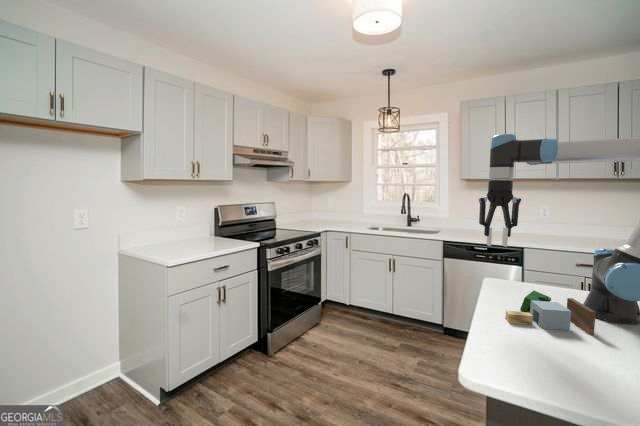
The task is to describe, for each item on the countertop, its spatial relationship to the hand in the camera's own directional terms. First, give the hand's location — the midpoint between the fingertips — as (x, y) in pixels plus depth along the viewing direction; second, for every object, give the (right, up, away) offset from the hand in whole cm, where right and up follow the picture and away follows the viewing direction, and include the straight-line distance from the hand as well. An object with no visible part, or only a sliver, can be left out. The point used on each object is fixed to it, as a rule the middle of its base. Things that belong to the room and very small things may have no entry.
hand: (496, 245), depth 119 cm
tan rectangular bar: (+2, -24, -10) cm, 26 cm away
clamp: (+13, -23, -1) cm, 27 cm away
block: (+11, -24, -12) cm, 29 cm away
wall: (+19, -24, -13) cm, 34 cm away
